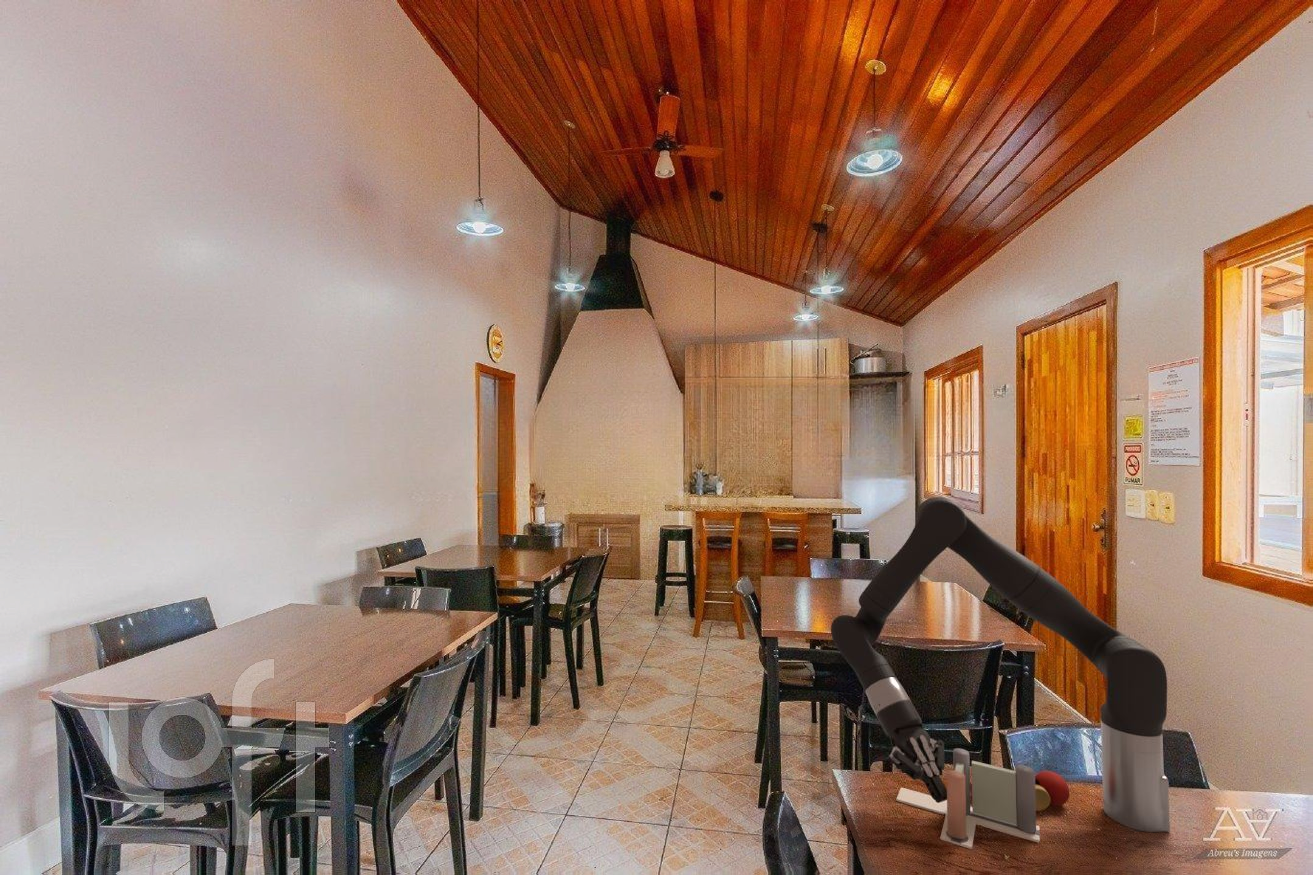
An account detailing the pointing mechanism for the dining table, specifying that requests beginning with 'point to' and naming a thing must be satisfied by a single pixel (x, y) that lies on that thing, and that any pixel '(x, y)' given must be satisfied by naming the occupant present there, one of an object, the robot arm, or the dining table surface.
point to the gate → (956, 802)
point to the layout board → (971, 819)
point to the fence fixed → (1000, 791)
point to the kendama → (1048, 790)
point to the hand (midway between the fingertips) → (943, 800)
